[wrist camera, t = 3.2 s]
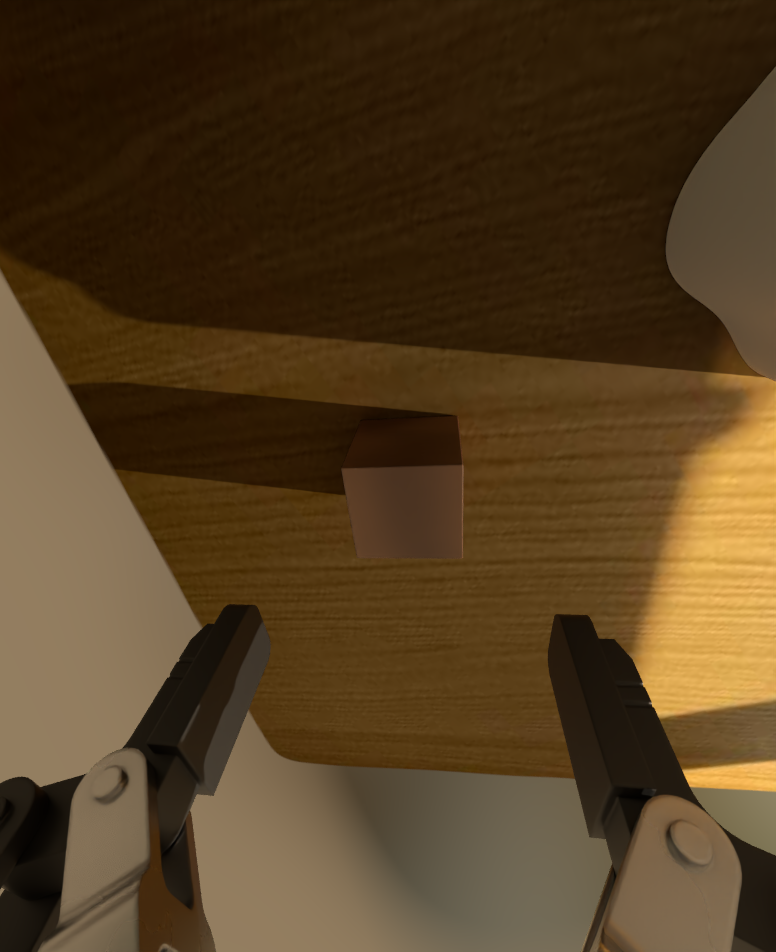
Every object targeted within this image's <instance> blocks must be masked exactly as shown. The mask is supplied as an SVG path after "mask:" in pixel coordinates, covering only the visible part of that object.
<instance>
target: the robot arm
mask: <svg viewBox="0 0 776 952" xmlns="http://www.w3.org/2000/svg"><path fill="white" fill-rule="evenodd" d="M269 655H270V639H269V636H268V633H267V631H266V628H265V625H264V623H263V620H262V618H261V615H260V612H259V610H258V608H257V606H255V605H235V604H229V605H227V606H226V607H225V608H224V609H223V610H222V612H221V614H220V615H219V617H218V619H217V620H216V622H215V624H207V625H206V626H205V627H204V628H203V629H202V630H200V631H199V632H198V633H197V634H196V635H195V636H194V637H193V638H192V639H191V640H190V642H189V644H188V645H187V647H186V649H185V650H184V652H183V653H182V655H181V656H180V658H179V659H180V660H179V662H177V663H176V665H175V666H174V668H173V669H172V671H171V673H170V677H169V678H167V679H166V681H165V682H164V684H163V686H162V688H161V689H160V691H159V692H158V694H157V696H156V697H155V699H154V700H153V702H152V704H151V705H150V707H149V708H148V710H147V712H146V713H145V715H144V717H143V718H142V720H141V722H140V723H139V725H138V726H137V728H136V730H135V731H134V733H133V734H132V736H131V738H130V739H129V740H128V742H127V743H126V745H125V746H124V747H123V748H122V749H120V750H117V751H115V752H112V753H110V754H109V755H107V756H106V757H104V758H103V759H102V760H100V761H99V762H98V763H96V764H95V765H94V766H93V767H92V768H91V769H90V770H89V771H88V772H87V774H84V775H81V776H78V777H74V778H71V779H67V780H64V781H60V782H57V783H53V784H50V785H47V786H43V787H39V786H38V785H37V784H36V783H35V782H33V781H32V780H31V779H29V778H26V777H15V778H12V779H9V780H6V781H4V782H2V783H0V889H1V887H2V888H3V889H5V890H4V891H3V893H2V894H1V896H0V952H216V949H215V944H214V940H213V936H212V933H211V930H210V927H209V925H208V922H207V920H206V917H205V914H204V910H203V905H202V898H201V891H200V881H199V873H198V865H197V857H196V849H195V841H194V832H193V824H192V817H191V812H190V809H191V806H192V804H193V802H194V799H195V797H196V795H197V794H201V795H210V796H211V795H212V796H214V793H215V791H216V788H217V786H218V783H219V781H220V778H221V776H222V773H223V771H224V768H225V766H226V764H227V761H228V758H229V756H230V754H231V751H232V748H233V746H234V744H235V741H236V739H237V736H238V734H239V731H240V729H241V726H242V724H243V721H244V719H245V717H246V714H247V712H248V709H249V707H250V704H251V702H252V699H253V697H254V694H255V692H256V689H257V687H258V684H259V682H260V679H261V677H262V674H263V672H264V670H265V667H266V665H267V662H268V659H269ZM548 666H549V673H550V678H551V682H552V686H553V690H554V694H555V698H556V703H557V707H558V711H559V715H560V719H561V723H562V727H563V731H564V735H565V739H566V743H567V747H568V751H569V756H570V760H571V764H572V768H573V772H574V776H575V780H576V784H577V788H578V792H579V796H580V800H581V804H582V808H583V812H584V816H585V820H586V824H587V829H588V833H589V837H592V838H602V839H606V841H607V845H608V849H609V852H610V856H611V860H612V866H611V868H610V871H609V874H608V877H607V880H606V882H605V885H604V888H603V891H602V894H601V896H600V899H599V902H598V905H597V908H596V910H595V913H594V916H593V919H592V922H591V924H590V927H589V930H588V933H587V936H586V939H585V941H584V944H583V947H582V950H581V952H776V856H775V855H773V854H770V853H768V852H766V851H764V850H761V849H759V848H757V847H754V846H752V845H750V844H748V843H746V842H744V841H742V840H740V839H739V838H737V837H736V836H734V835H732V834H731V833H730V832H728V831H727V830H726V829H724V828H723V827H722V826H721V825H720V824H719V823H717V822H716V821H715V820H714V819H713V818H712V817H711V816H710V815H709V814H708V813H707V812H706V810H705V809H704V808H703V807H702V805H701V804H700V803H699V802H698V800H697V799H696V797H695V796H694V794H693V792H692V791H691V789H690V787H689V785H688V782H687V780H686V778H685V776H684V774H683V771H682V769H681V767H680V765H679V762H678V760H677V758H676V756H675V753H674V751H673V749H672V747H671V745H670V742H669V740H668V738H667V736H666V733H665V731H664V729H663V727H662V724H661V722H660V720H659V718H658V716H657V713H656V711H655V709H654V708H653V707H652V704H651V703H652V702H651V700H650V698H649V695H648V693H647V691H646V689H645V687H643V682H642V680H641V678H640V675H639V673H638V671H637V669H636V666H635V664H634V662H633V660H632V658H631V657H630V656H629V655H628V654H627V653H626V652H625V651H624V650H623V649H622V647H621V646H620V645H619V644H618V643H617V642H616V641H615V640H614V639H598V636H597V633H596V631H595V628H594V626H593V623H592V621H591V619H590V618H589V616H587V615H563V614H556V615H555V616H554V621H553V626H552V632H551V637H550V643H549V649H548Z"/></svg>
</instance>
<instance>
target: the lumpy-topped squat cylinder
mask: <svg viewBox="0 0 776 952" xmlns="http://www.w3.org/2000/svg"><path fill="white" fill-rule="evenodd" d="M666 259H667V264H668V267H669V270H670V272H671V274H672V276H673V277H674V279H675V280H676V282H677V283H678V284H679V285H680V286H681V287H682V288H683V289H684V290H685V291H686V292H687V293H688V294H690V295H691V296H692V297H694V298H695V299H696V300H698V301H699V302H701V303H702V304H703V305H705V306H706V307H707V308H709V309H710V310H711V311H712V312H713V313H714V314H715V315H716V316H717V317H718V318H719V319H720V320H721V321H722V322H723V324H724V325H725V327H726V328H727V330H728V332H729V334H730V336H731V337H732V340H733V342H734V344H735V346H736V348H737V350H738V352H739V353H740V355H741V357H742V358H743V360H744V361H745V362H746V364H747V365H748V366H749V367H750V368H751V369H753V370H754V371H755V372H757V373H758V374H760V375H763V376H765V377H767V378H769V379H772V380H774V381H776V67H775V68H774V69H773V70H772V72H771V73H770V74H769V75H768V76H767V77H766V79H765V80H764V81H763V82H762V83H761V85H760V86H759V87H758V88H757V89H756V91H755V92H754V93H753V94H752V96H751V97H750V98H749V99H748V100H747V101H746V102H745V104H744V105H743V106H742V107H741V108H740V109H739V110H738V112H737V113H736V114H735V115H734V116H733V117H732V118H731V120H730V121H729V122H728V123H727V124H726V125H725V126H724V128H723V129H722V130H721V131H720V133H719V134H718V135H717V136H716V137H715V139H714V140H713V141H712V143H711V144H710V145H709V146H708V148H707V149H706V150H705V152H704V153H703V155H702V156H701V158H700V159H699V161H698V162H697V164H696V165H695V167H694V168H693V170H692V172H691V173H690V175H689V177H688V178H687V180H686V182H685V184H684V186H683V188H682V190H681V192H680V194H679V197H678V199H677V201H676V204H675V207H674V209H673V212H672V216H671V219H670V223H669V227H668V232H667V238H666Z"/></svg>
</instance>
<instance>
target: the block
mask: <svg viewBox="0 0 776 952" xmlns="http://www.w3.org/2000/svg"><path fill="white" fill-rule="evenodd" d="M341 471H342V477H343V482H344V488H345V493H346V499H347V505H348V510H349V516H350V521H351V527H352V532H353V538H354V544H355V549H356V555H357V558H463V458H462V448H461V439H460V430H459V421H458V416H444V417H422V418H400V419H377V420H361V421H360V424H359V426H358V429H357V431H356V433H355V436H354V438H353V441H352V443H351V446H350V448H349V450H348V453H347V455H346V458H345V460H344V463H343V465H342V468H341Z"/></svg>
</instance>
